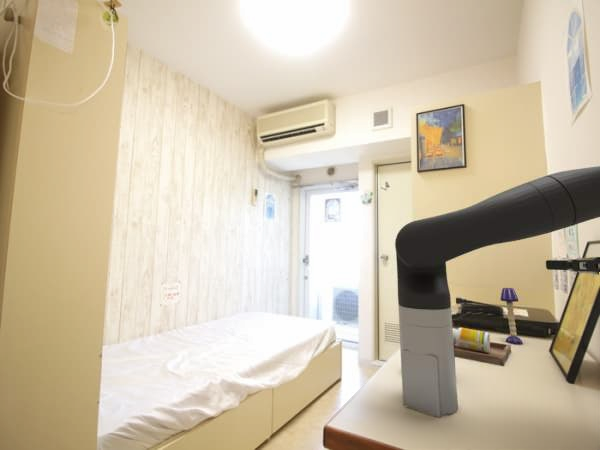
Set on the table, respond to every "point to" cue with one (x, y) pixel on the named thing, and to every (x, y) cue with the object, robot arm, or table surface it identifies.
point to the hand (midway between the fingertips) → (546, 264)
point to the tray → (494, 356)
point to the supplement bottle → (472, 339)
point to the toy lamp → (511, 314)
